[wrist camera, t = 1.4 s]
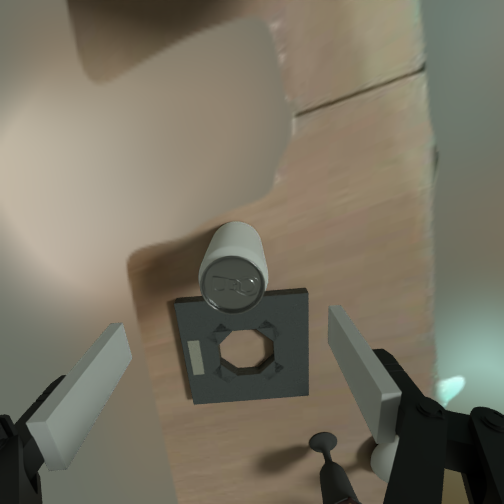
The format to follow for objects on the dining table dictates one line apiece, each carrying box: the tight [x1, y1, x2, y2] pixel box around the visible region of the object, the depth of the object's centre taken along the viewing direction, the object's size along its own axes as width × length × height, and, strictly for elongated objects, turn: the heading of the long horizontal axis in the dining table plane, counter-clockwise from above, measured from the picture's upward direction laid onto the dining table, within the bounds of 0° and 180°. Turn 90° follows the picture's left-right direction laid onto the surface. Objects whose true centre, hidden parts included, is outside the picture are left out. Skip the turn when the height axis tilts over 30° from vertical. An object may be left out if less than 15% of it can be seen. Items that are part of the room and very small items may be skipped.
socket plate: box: [174, 288, 309, 405], centre depth 38 cm, size 18×18×2 cm
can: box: [199, 222, 268, 315], centre depth 28 cm, size 6×6×12 cm
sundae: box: [310, 432, 362, 504], centre depth 39 cm, size 7×7×15 cm
